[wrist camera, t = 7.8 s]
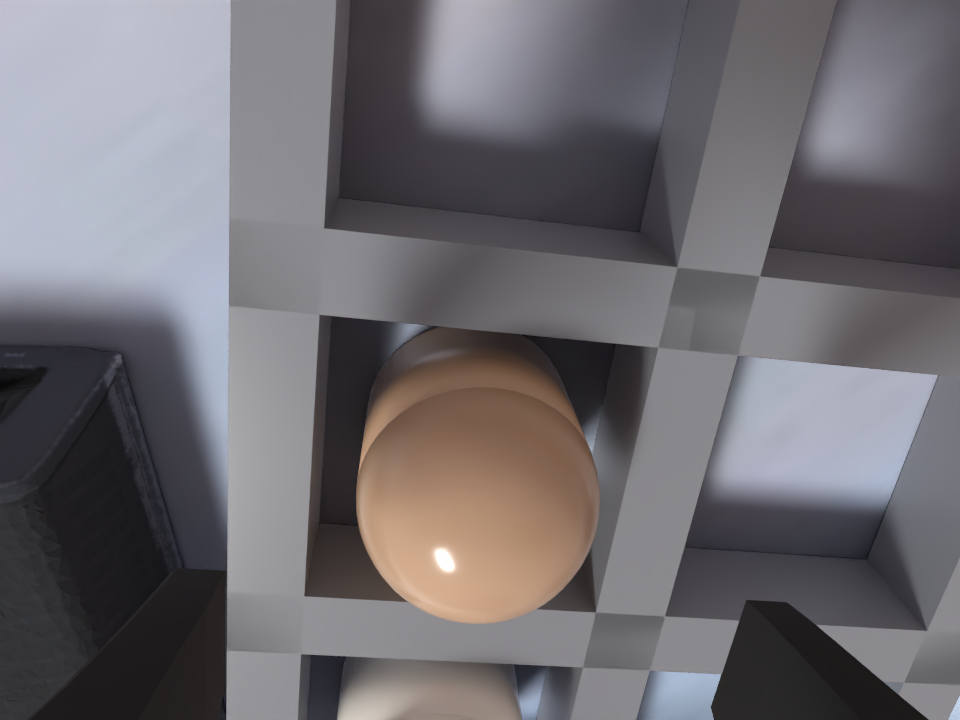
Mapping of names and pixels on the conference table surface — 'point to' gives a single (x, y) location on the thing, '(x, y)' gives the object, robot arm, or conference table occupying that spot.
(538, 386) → the tan bulbous object
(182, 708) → the robot arm
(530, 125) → the conference table surface
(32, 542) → the external hard drive
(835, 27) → the conference table surface
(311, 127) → the egg crate
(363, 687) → the cream egg
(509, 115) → the conference table surface
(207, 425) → the conference table surface
